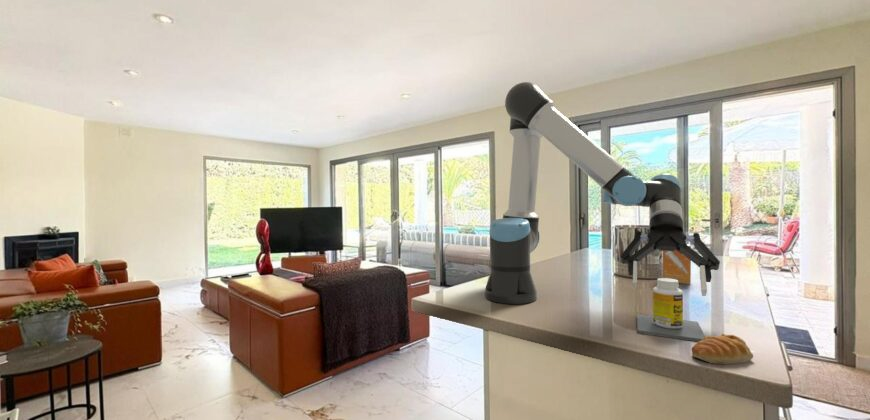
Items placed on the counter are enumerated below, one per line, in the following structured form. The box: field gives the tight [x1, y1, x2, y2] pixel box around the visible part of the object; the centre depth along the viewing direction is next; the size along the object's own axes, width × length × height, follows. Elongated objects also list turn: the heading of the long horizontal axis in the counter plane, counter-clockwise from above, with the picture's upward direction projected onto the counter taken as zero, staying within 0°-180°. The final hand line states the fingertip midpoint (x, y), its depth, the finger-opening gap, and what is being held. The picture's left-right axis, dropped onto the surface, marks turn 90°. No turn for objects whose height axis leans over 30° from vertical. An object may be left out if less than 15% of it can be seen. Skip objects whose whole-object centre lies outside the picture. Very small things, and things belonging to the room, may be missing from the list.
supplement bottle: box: [652, 277, 684, 329], centre depth 79 cm, size 6×6×10 cm
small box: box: [662, 243, 692, 285], centre depth 124 cm, size 8×6×13 cm
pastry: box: [691, 333, 754, 365], centre depth 65 cm, size 9×7×4 cm
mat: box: [636, 314, 706, 343], centre depth 79 cm, size 12×12×1 cm
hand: (668, 289), depth 84 cm, fingers open, 13 cm apart
